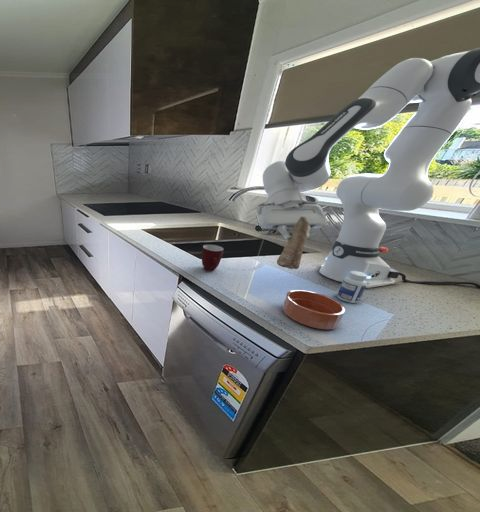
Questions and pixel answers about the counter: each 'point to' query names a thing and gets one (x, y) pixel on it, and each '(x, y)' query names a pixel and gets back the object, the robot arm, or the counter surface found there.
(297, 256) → the brown tapered cone
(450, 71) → the robot arm
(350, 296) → the pill bottle
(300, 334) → the counter surface
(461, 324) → the counter surface
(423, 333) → the counter surface
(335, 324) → the bowl
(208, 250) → the mug
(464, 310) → the counter surface
